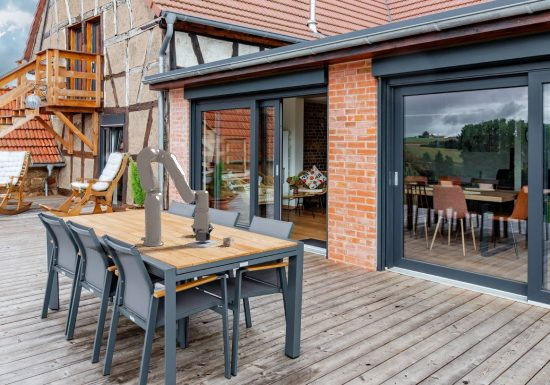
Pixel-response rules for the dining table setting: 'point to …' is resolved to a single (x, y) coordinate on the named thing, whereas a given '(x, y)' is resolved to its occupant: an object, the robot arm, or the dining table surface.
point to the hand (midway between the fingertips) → (202, 238)
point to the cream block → (228, 241)
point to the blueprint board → (202, 243)
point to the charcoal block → (201, 236)
